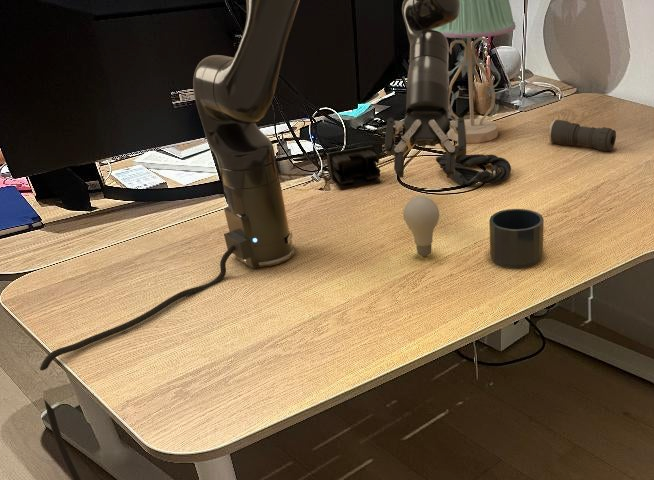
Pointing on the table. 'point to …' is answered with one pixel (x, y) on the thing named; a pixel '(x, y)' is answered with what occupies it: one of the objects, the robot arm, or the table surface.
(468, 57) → the table lamp
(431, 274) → the table surface
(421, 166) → the table surface
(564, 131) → the flashlight
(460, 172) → the cable
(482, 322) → the table surface
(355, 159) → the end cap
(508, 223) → the pot
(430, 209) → the lightbulb
